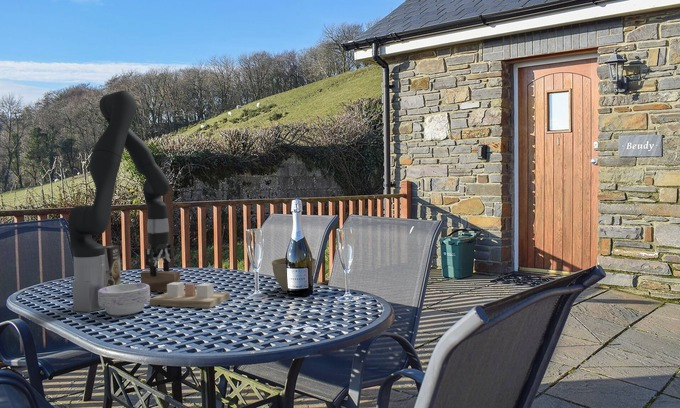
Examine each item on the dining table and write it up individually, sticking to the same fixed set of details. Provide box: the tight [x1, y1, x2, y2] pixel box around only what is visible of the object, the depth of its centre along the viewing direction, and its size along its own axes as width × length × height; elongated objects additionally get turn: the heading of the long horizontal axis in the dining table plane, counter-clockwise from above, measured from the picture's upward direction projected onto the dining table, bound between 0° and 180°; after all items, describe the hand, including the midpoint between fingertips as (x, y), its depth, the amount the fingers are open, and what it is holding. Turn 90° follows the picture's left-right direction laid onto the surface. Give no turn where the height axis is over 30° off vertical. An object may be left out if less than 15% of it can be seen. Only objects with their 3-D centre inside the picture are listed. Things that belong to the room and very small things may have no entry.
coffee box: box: [103, 244, 122, 287], centre depth 211 cm, size 9×6×16 cm
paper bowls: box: [98, 282, 151, 316], centre depth 174 cm, size 15×15×8 cm
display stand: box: [148, 281, 231, 309], centre depth 187 cm, size 14×22×6 cm, turn 75°
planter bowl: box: [271, 257, 317, 292], centre depth 203 cm, size 16×16×11 cm
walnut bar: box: [140, 270, 181, 293], centre depth 207 cm, size 4×14×7 cm, turn 75°
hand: (160, 274), depth 207 cm, fingers open, 8 cm apart
